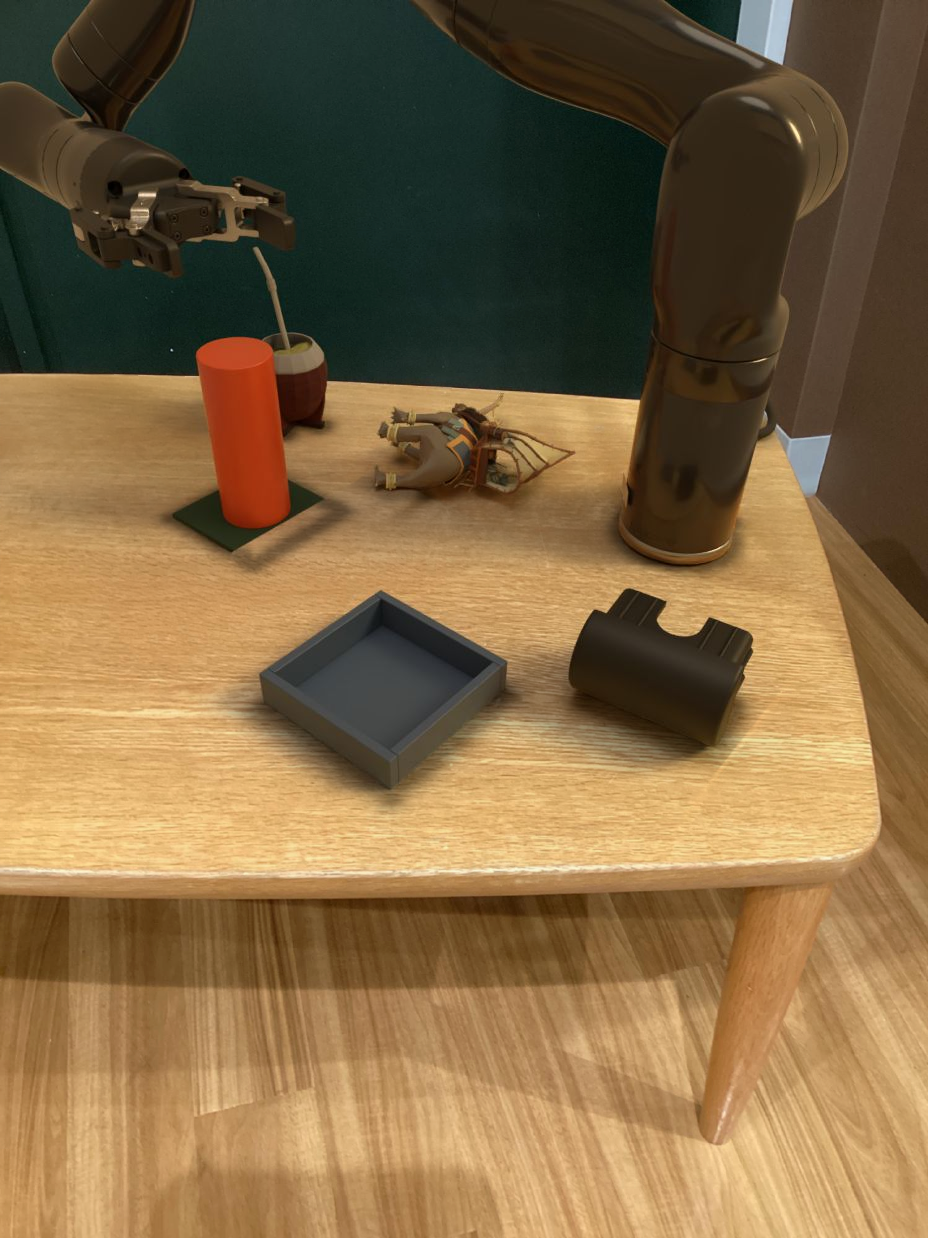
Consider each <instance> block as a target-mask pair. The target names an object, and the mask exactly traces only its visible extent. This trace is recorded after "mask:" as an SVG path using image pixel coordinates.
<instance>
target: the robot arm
mask: <svg viewBox="0 0 928 1238" xmlns="http://www.w3.org/2000/svg"><path fill="white" fill-rule="evenodd" d="M406 1H407V3H409V5H410V6H412V7H413V9H414V10H416V11H417V12H418V13H419V14H420V15H421V16H422V17H423V18H425V20H427V21H428V22H429V23H430V24H431V25H433V26H434V27H435V28H436V29H437V30H438V31H440V32H441V33H442V34H444V35H445V36H446V37H447V38H449V39H450V40H451V41H452V42H453V43H455V44H456V45H458V47H460V48H461V49H462V50H463V51H466V52H467V53H468V54H470V55H472V56H473V57H474V58H476V59H477V60H479V61H480V62H482V63H483V64H484V65H486V66H487V67H488V68H490V69H491V70H493V71H494V72H495V73H497V74H498V75H499V76H501V77H503V78H505V79H506V80H508V81H509V82H511V83H513V84H515V85H517V86H519V87H521V88H523V89H526V90H527V91H529V92H532V93H534V94H537V95H540V96H542V97H545V98H548V99H550V100H554V101H556V102H559V103H562V104H564V105H568V106H572V107H575V108H579V109H581V110H584V111H588V112H591V113H595V114H598V115H602V116H603V117H606V118H607V117H608V118H611V119H613V120H616V121H618V122H619V121H620V122H622V123H624V124H626V125H629V126H631V127H633V128H635V129H636V130H639V131H640V132H642V133H644V134H646V135H647V136H649V137H650V138H652V139H653V140H655V141H657V142H658V143H660V144H661V145H662V146H663V147H665V148H666V149H667V151H666V154H665V157H664V161H663V165H662V170H661V176H660V180H659V187H658V195H657V203H656V211H655V219H654V226H653V227H654V228H653V235H652V236H653V237H652V246H651V254H650V263H649V273H648V274H649V275H648V286H649V287H648V288H649V294H650V298H651V301H652V306H653V315H652V322H651V329H650V335H649V341H648V347H647V354H646V360H645V368H644V373H643V380H642V386H641V392H640V396H639V397H640V398H639V402H638V403H639V404H638V409H637V414H636V415H637V416H636V422H635V427H634V428H635V429H634V432H633V433H634V434H633V439H632V446H631V451H630V458H629V464H628V471H627V477H625V476H626V475H625V472H622V473H623V474H622V479H621V480H622V481H621V493H622V497H623V499H622V506H621V509H620V511H619V516H618V517H619V518H618V522H617V527H618V532H619V535H620V536H621V538H622V539H623V541H624V542H625V543H626V544H627V545H628V546H629V547H630V548H632V549H633V550H635V551H636V552H637V553H640V554H641V555H643V556H645V557H647V558H650V559H653V560H656V561H658V562H662V563H668V564H674V565H699V564H704V563H709V562H712V561H714V560H717V559H718V558H720V557H722V556H723V555H725V554H726V553H727V552H728V551H729V549H730V547H731V545H732V543H733V539H734V536H735V535H734V534H735V526H736V522H737V518H738V516H739V515H738V514H739V510H740V506H741V505H742V501H743V496H744V492H745V488H746V485H747V480H748V477H749V474H750V473H749V472H750V469H751V466H752V462H753V457H754V454H755V450H756V446H757V442H758V439H762V438H763V439H764V438H766V437H768V436H770V435H772V433H773V432H774V431H775V430H776V428H777V425H778V417H777V411H776V408H775V405H774V404H773V402H772V400H771V399H770V397H769V396H770V392H771V388H772V384H773V380H774V375H775V372H776V368H777V364H778V361H779V357H780V354H781V349H782V346H783V343H784V339H785V335H786V332H787V328H788V324H789V321H790V319H789V318H790V306H789V303H788V301H787V300H786V298H785V296H784V295H782V294H781V289H782V284H783V280H784V275H785V270H786V266H787V261H788V257H789V252H790V248H791V243H792V239H793V236H794V231H795V228H796V224H797V223H798V222H799V221H800V220H802V219H804V218H805V217H807V216H808V215H809V214H811V213H812V212H814V211H815V210H816V209H817V208H818V207H819V206H821V205H822V204H823V203H824V202H825V201H826V200H827V199H828V198H829V197H830V196H831V195H832V193H834V191H835V189H836V188H837V186H838V185H839V184H840V181H841V180H842V178H843V176H844V172H845V169H846V167H847V163H848V162H847V161H848V157H849V136H848V130H847V126H846V123H845V119H844V116H843V114H842V112H841V110H840V109H839V107H838V104H837V103H836V102H835V100H834V98H833V97H832V96H831V95H830V94H829V92H828V91H827V90H826V89H824V87H823V86H821V85H820V84H819V83H817V82H816V81H815V80H814V79H812V78H810V77H808V76H806V75H805V74H803V73H801V72H798V71H797V70H794V69H793V68H790V67H787V66H785V65H783V64H781V63H779V62H777V61H775V60H772V59H770V58H768V57H766V56H764V55H762V54H760V53H758V52H755V51H753V50H751V49H749V48H747V47H745V46H742V45H741V44H738V43H737V42H735V41H732V40H730V39H728V38H726V37H724V36H722V35H720V34H718V33H716V32H714V31H712V30H710V29H709V28H707V27H705V26H703V25H701V24H699V23H698V22H696V21H694V20H693V19H691V18H690V17H688V16H686V15H685V14H684V13H682V12H680V11H679V10H678V9H676V8H675V7H673V6H672V5H671V4H670V3H668V2H667V1H665V0H406ZM197 4H198V0H89V3H88V4H87V5H86V7H85V8H84V9H83V10H82V12H81V13H80V15H79V16H78V17H77V18H76V19H75V21H74V22H73V24H71V26H70V28H69V29H68V30H67V31H66V33H65V34H64V35H63V36H62V37H61V39H60V41H58V43H57V45H56V47H55V49H54V51H53V52H52V53H53V54H52V58H51V59H52V60H51V62H52V63H51V64H52V68H53V71H54V73H55V76H56V77H57V80H58V81H59V83H60V84H61V86H62V87H63V88H64V89H65V91H66V92H67V93H68V94H69V96H71V98H72V99H73V101H75V102H76V104H77V105H79V106H80V107H81V109H83V111H84V114H83V115H82V116H81V117H80V116H78V115H76V114H74V113H72V112H70V111H69V110H67V109H66V108H64V107H63V106H61V105H60V104H58V103H57V102H55V101H54V100H52V99H51V98H49V97H48V96H46V95H44V94H43V93H41V92H40V91H39V90H36V89H35V88H33V87H32V86H30V85H28V84H26V83H23V82H19V81H5V82H4V81H3V82H1V83H0V169H1V170H2V171H4V172H6V173H7V174H9V175H11V176H12V177H14V178H16V179H17V180H18V181H21V182H23V183H24V184H26V185H28V186H29V187H31V188H33V189H35V190H36V191H38V192H39V193H40V194H43V195H44V196H46V197H48V198H49V199H51V200H53V201H54V202H56V203H59V204H60V205H61V206H63V207H64V208H66V209H67V210H68V211H69V214H70V219H71V223H72V227H73V231H74V235H75V239H76V242H77V247H78V248H79V249H80V250H81V251H83V252H84V253H85V254H86V255H88V257H90V258H91V259H93V260H94V261H95V262H96V263H97V264H99V265H100V266H101V267H103V268H104V269H107V270H116V269H120V268H121V267H123V261H128V260H129V261H131V260H132V265H134V266H137V267H148V268H149V269H151V270H153V271H154V272H157V273H161V274H164V275H165V276H167V277H169V278H171V279H174V278H177V277H182V276H183V275H184V269H183V265H182V258H181V252H180V247H181V246H183V245H184V244H185V243H186V242H192V243H193V242H195V243H200V242H203V240H208V241H220V242H229V243H233V242H237V241H238V240H239V239H240V238H242V237H251V238H258V239H260V240H262V241H263V242H265V243H267V244H269V245H271V246H273V247H275V248H277V249H278V250H279V249H280V250H281V251H283V252H285V251H290V250H294V249H295V247H296V242H297V234H296V223H295V219H294V217H292V216H291V215H290V216H289V215H288V213H287V202H286V200H287V198H286V197H287V196H286V192H284V191H283V190H280V189H277V188H274V187H272V186H269V185H267V184H264V183H261V182H260V181H256V180H253V179H251V178H249V177H245V176H242V175H237V176H234V177H232V178H231V186H220V185H219V186H217V185H207V184H203V183H201V182H200V181H198V180H196V179H195V178H194V176H193V175H192V173H191V172H190V170H189V169H188V168H187V167H186V165H185V164H184V163H183V162H182V161H181V160H179V158H177V156H175V155H173V154H172V153H169V151H166V150H163V149H161V148H159V147H156V146H154V145H152V144H150V143H148V142H146V141H144V140H142V139H139V138H137V137H135V136H132V135H131V134H129V133H124V132H125V130H126V128H127V127H128V126H127V125H129V121H130V120H131V119H132V117H133V115H134V114H135V111H137V109H138V108H139V107H140V106H141V104H142V103H143V102H144V101H145V99H146V98H147V97H148V96H149V95H150V94H151V92H153V90H154V89H155V88H156V86H158V84H159V83H161V81H162V79H163V78H164V77H166V75H167V73H168V72H169V71H170V70H171V69H172V67H173V66H174V64H175V63H176V61H177V60H178V58H179V57H180V55H181V53H182V52H183V49H184V47H185V45H186V43H187V42H188V41H187V40H188V38H189V35H190V33H191V29H192V25H193V21H194V17H195V14H196V8H197ZM223 214H224V215H225V223H226V228H225V227H219V225H220V222H221V219H222V218H223V217H222V216H223ZM244 219H247V220H250V221H252V222H253V224H251V223H250V224H249V223H246V222H244V221H243V220H244ZM765 415H766V418H767V421H766V425H765V426H764V427H762V424H763V419H764V416H765ZM761 427H762V428H761Z"/></svg>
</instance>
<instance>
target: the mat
mask: <svg viewBox="0 0 928 1238" xmlns="http://www.w3.org/2000/svg"><path fill="white" fill-rule="evenodd" d="M288 487H289V496H290V505H291V509H290V512H289V514H288V516H287V517H286V518H285V519H284V520H282V521H281V522H279V523H277V524H275V525H272V526H269V527H265V528H258V529H247V528H241V527H237V526H234V525H232V524H231V523H229V522H228V521H227V520H226V519H225V518H224V515H223V510H222V504H221V498H220V493H219V489H217V490H214V491H213V492H211V493H209V494H207V495H205V496H203V497H201V498H200V499H198V500H195V501H194V502H192V503H189V504H188V505H186V506H184V507H182V508H180V509H178V510H176V511H173V512H172V513H171V514H172V517H173V518H174V519H175V520H176V521H178V522H180V523H182V524H184V525H185V526H187V527H189V528H190V529H192V530H194V531H196V532H197V533H198V534H200V535H202V536H204V537H205V538H207V539H209V540H210V541H212V542H214V543H215V544H217V545H219V546H220V547H222V548H224V549H225V550H227V551H229V552H231V553H233V552H235V551H237V550H239V549H240V548H242V547H244V546H245V545H247V544H249V543H250V542H252V541H254V540H255V539H258V538H260V537H261V536H263V535H264V534H266V533H268V532H270V531H271V530H273V529H275V528H277V527H278V526H280V525H283V524H284V523H285V522H287V521H289V520H291V519H293V518H294V517H296V516H298V515H299V514H301V513H303V512H305V511H307V510H308V509H310V508H312V507H313V506H315V505H318V504H319V503H321V502H322V501H324V500H326V498H325V497H323V496H321V495H319V494H318V493H315V492H313V491H311V490H310V489H307V488H305V487H304V486H302V485H300V484H298V483H296V482H294V481H292V480H290V479H288Z"/></svg>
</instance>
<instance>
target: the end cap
mask: <svg viewBox="0 0 928 1238" xmlns="http://www.w3.org/2000/svg"><path fill="white" fill-rule="evenodd" d="M667 602H668V601H667V600H664V599H662V598H659V597H657V596H653V595H651V594H648V593H645V592H643V591H641V590H637V589H635V588H631V587H629V588H628V587H627V588H625V589H623V591H622V592H621V593H620V594H619V596H618V597H617V598H616V600H615V601H614V602H613V603H612V605H611V606H610V608H609V609H608V610H607V612H605V611H602V610H599V609H593V610H592V611H591V613H590V614H589V615H588V617H587V619H586V620H585V622H584V624H583V626H582V628H581V630H580V632H579V634H578V636H577V639H576V641H575V644H574V647H573V649H572V653H571V657H570V660H569V665H568V671H567V672H568V673H567V679H568V683H569V686H570V687H571V688H573V689H574V690H577V691H579V692H582V693H583V694H586V695H589V696H591V697H592V698H595V699H598V700H601V701H603V702H605V703H608V704H610V705H612V706H614V707H617V708H619V709H621V710H623V711H627V712H629V713H631V714H634V715H636V716H639V717H641V718H643V719H646V720H648V721H650V722H652V723H655V724H657V725H660V726H662V727H665V728H667V729H669V730H671V731H674V732H676V733H679V734H681V735H683V736H685V737H688V738H690V739H693V740H695V741H698V742H700V743H702V744H704V745H707V746H709V747H715V746H717V745H718V744H719V743H720V741H721V740H722V739H723V736H724V734H725V733H726V730H727V726H728V723H729V719H730V717H731V714H732V710H733V707H734V704H735V700H736V697H737V694H738V692H739V691H740V689H741V687H742V685H743V684H744V681H745V680H746V676H745V669H746V666H747V665H748V663H749V661H750V659H751V657H752V656H753V654H754V649H753V648H752V647H753V643H754V637H753V635H752V633H750V631H748V630H746V629H743V628H741V627H738V626H735V625H732V624H729V623H727V622H724V621H722V620H720V619H716V618H715V617H714V618H713V617H710V616H708V618H707V619H706V621H705V623H704V624H703V626H702V628H700V630H699V631H698V632H697V633H694V634H691V635H676V634H673V633H671V632H668V631H666V630H665V629H664V628H663V627H662V626H660V624H659V622H658V618H659V617H660V615H661V614H662V612H663V611H664V610H665V609H666V607H667Z"/></svg>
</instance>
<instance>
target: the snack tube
mask: <svg viewBox="0 0 928 1238" xmlns="http://www.w3.org/2000/svg"><path fill="white" fill-rule="evenodd" d="M195 359H196V365H197V371H198V376H199V383H200V386H201V387H200V389H201V393H202V400H203V405H204V406H203V407H204V410H205V416H206V422H207V429H208V434H209V439H210V444H211V445H210V446H211V451H212V456H213V458H212V459H213V463H214V469H215V475H216V480H217V481H216V482H217V486H218V487H217V488H218V490H219V493H220V498H221V504H222V510H223V515H224V518H225V519H226V520H227V521H228V522H229V523H231V524H232V525H234V526H237V527H241V528H247V529H258V528H265V527H269V526H272V525H275V524H277V523H279V522H281V521H282V520H284V519H285V518H286V517H287V516H288V514H289V512H290V509H291V505H290V496H289V487H288V480H289V478H288V471H287V462H286V454H285V446H284V437H283V435H282V426H281V418H280V409H279V400H278V391H277V383H276V374H275V365H274V357H273V350H272V348H271V346H270V345H269V344H267V343H266V342H264V341H262V339H258V338H255V337H247V336H232V337H224V338H219V339H216V340H212V341H209V342H207V343H205V344H203V345H202V346H201V347H200V348H198V350H196V353H195Z"/></svg>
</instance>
